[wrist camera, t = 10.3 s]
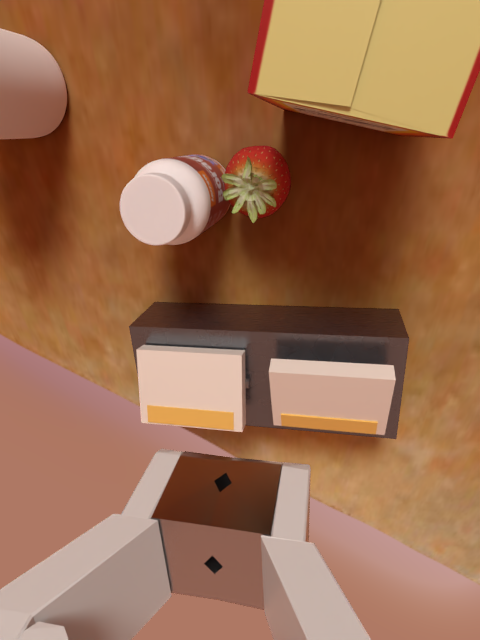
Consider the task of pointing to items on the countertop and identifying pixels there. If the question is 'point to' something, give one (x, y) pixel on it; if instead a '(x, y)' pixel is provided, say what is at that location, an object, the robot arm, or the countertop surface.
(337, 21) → the baking soda box
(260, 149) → the fruit
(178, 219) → the pill bottle
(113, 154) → the countertop surface
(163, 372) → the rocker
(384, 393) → the rocker
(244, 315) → the panel
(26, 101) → the pill bottle
